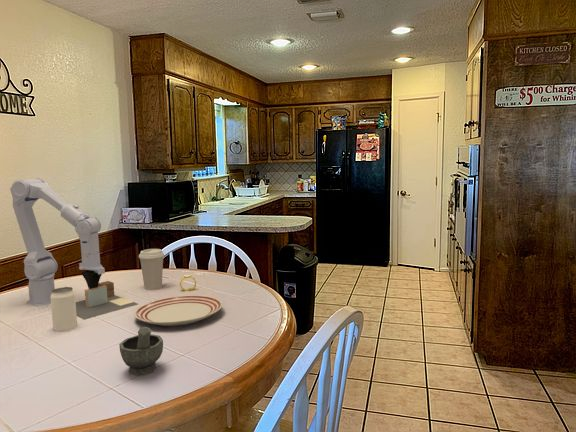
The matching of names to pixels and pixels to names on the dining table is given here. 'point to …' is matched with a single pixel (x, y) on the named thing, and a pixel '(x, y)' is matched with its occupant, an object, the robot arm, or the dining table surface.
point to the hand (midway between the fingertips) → (93, 291)
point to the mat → (102, 307)
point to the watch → (187, 277)
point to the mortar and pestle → (141, 352)
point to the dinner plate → (178, 310)
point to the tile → (96, 296)
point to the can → (63, 309)
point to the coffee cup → (152, 268)
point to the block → (108, 287)
